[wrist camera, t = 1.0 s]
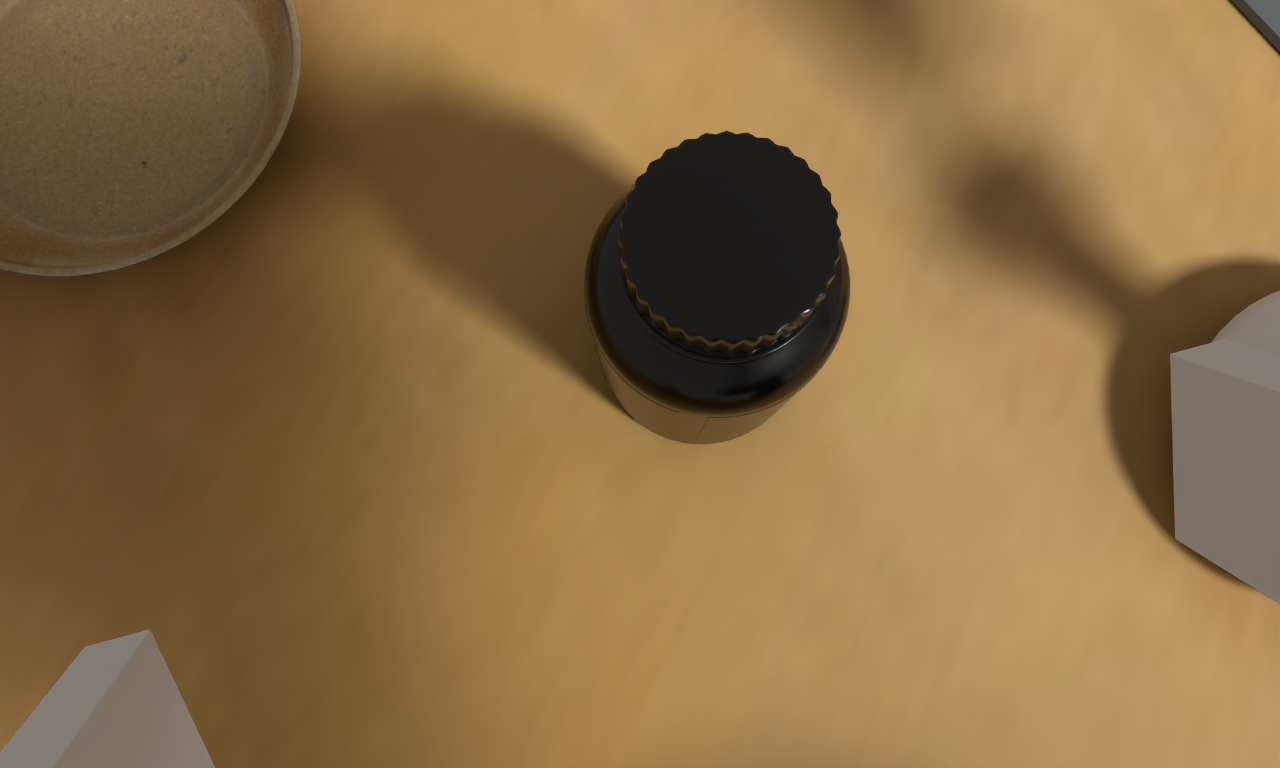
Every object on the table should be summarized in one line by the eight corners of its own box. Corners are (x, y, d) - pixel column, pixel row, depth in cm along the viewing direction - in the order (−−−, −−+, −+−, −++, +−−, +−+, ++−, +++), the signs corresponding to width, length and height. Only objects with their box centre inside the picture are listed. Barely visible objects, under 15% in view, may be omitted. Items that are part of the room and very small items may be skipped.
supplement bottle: (752, 227, 31) (824, 42, 19) (825, 406, 30) (950, 327, 18) (570, 292, 30) (528, 145, 19) (638, 476, 29) (640, 443, 18)
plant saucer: (121, -151, 33) (78, -207, 31) (409, 73, 32) (389, 33, 29) (-166, 128, 32) (-237, 93, 29) (127, 380, 30) (79, 366, 28)
